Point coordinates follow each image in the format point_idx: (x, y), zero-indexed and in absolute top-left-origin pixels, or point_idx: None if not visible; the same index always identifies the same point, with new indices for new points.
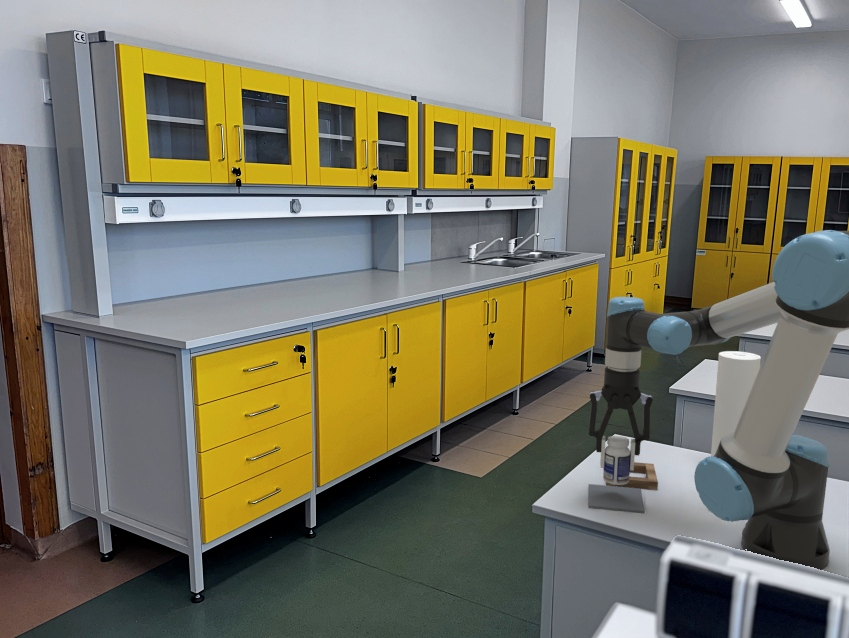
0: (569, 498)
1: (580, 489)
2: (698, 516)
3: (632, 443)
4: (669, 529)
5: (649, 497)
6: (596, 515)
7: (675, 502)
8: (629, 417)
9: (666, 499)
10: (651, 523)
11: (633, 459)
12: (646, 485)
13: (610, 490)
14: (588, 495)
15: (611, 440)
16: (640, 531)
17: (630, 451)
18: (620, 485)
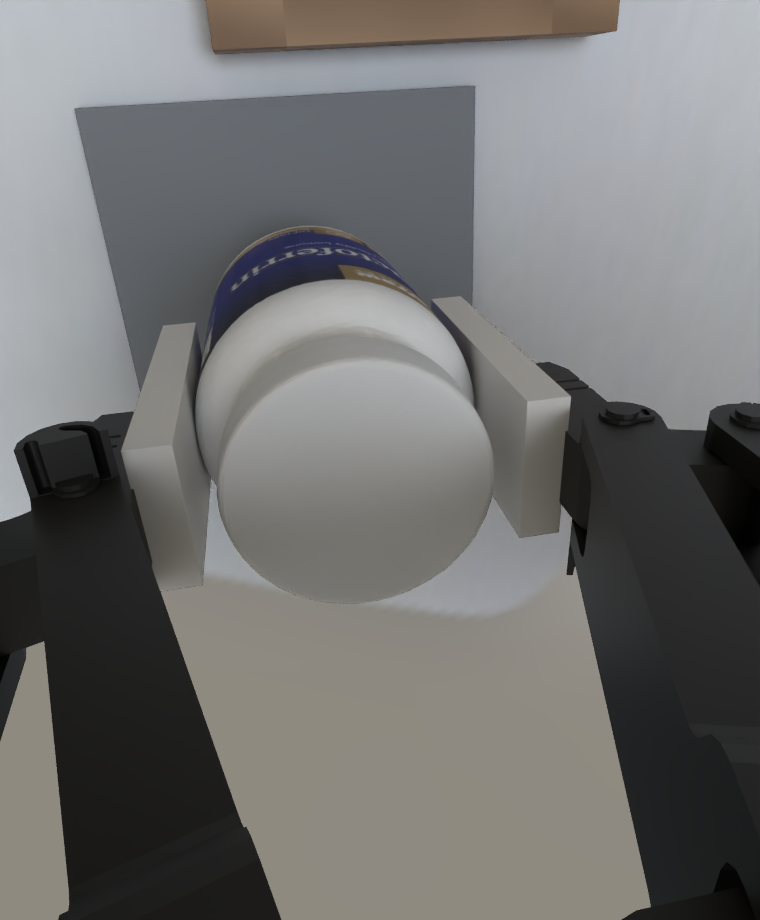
0: (11, 378)
1: (37, 199)
2: (725, 369)
3: (524, 533)
4: (557, 544)
5: (515, 192)
6: (220, 532)
7: (657, 222)
8: (638, 840)
9: (614, 191)
10: (486, 518)
11: None
12: (521, 37)
13: (260, 194)
14: (124, 318)
15: (278, 565)
16: (431, 603)
17: (474, 367)
18: (324, 48)
